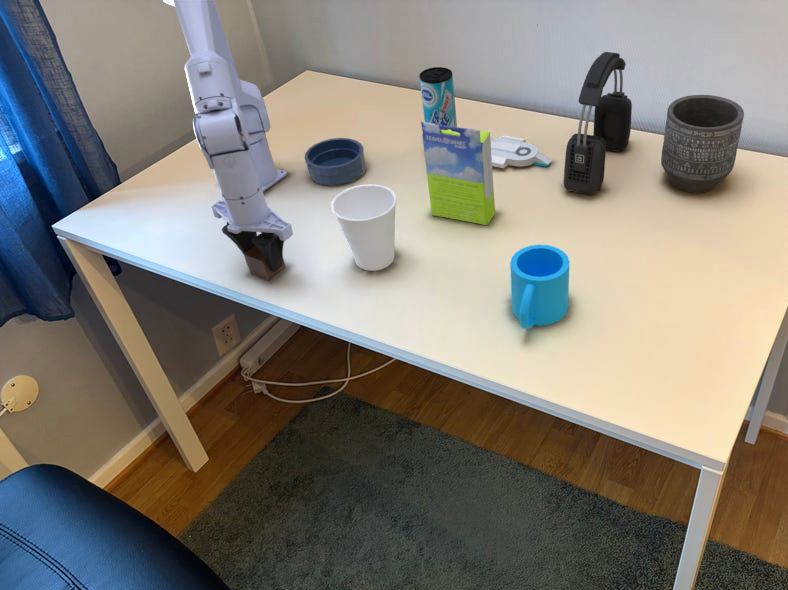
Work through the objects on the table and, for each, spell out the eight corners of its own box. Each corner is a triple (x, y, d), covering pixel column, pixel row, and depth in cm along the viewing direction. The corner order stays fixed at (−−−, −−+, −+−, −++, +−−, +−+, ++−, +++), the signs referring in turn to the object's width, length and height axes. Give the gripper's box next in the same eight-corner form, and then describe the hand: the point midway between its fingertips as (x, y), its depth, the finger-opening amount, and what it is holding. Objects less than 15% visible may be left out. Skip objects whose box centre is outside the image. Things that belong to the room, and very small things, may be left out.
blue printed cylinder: (422, 152, 141) (412, 76, 130) (442, 139, 144) (434, 64, 133) (444, 161, 138) (436, 84, 127) (465, 148, 141) (459, 72, 130)
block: (250, 274, 117) (243, 254, 114) (267, 260, 119) (261, 240, 116) (269, 281, 115) (262, 261, 112) (286, 267, 117) (279, 247, 115)
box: (496, 213, 125) (491, 118, 112) (487, 227, 122) (481, 131, 110) (440, 203, 128) (429, 110, 115) (430, 216, 125) (417, 122, 113)
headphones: (594, 202, 125) (601, 89, 111) (559, 195, 127) (562, 83, 113) (632, 140, 139) (642, 33, 125) (600, 135, 141) (606, 29, 127)
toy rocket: (460, 162, 137) (459, 151, 136) (484, 138, 143) (483, 127, 141) (538, 179, 131) (538, 167, 130) (559, 153, 137) (560, 142, 136)
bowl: (297, 179, 137) (292, 159, 134) (334, 152, 143) (329, 133, 140) (342, 192, 132) (338, 173, 129) (378, 164, 139) (374, 145, 136)
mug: (522, 284, 111) (520, 240, 105) (574, 294, 108) (576, 249, 103) (495, 336, 103) (492, 292, 97) (551, 348, 101) (551, 303, 95)
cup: (396, 282, 113) (386, 222, 105) (336, 277, 115) (321, 218, 107) (413, 244, 120) (404, 185, 112) (356, 240, 122) (343, 182, 114)
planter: (724, 204, 122) (738, 133, 113) (651, 193, 126) (660, 123, 117) (735, 167, 130) (749, 98, 121) (666, 158, 134) (675, 90, 125)
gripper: (186, 191, 107) (215, 265, 117) (258, 216, 101) (283, 291, 111) (220, 168, 111) (246, 241, 121) (292, 190, 105) (313, 265, 115)
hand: (266, 264), depth 116 cm, fingers open, 4 cm apart
